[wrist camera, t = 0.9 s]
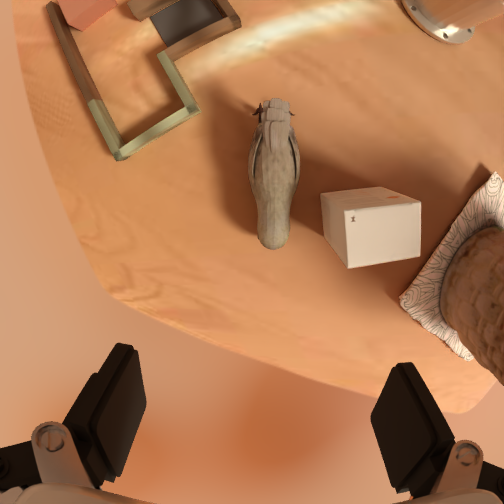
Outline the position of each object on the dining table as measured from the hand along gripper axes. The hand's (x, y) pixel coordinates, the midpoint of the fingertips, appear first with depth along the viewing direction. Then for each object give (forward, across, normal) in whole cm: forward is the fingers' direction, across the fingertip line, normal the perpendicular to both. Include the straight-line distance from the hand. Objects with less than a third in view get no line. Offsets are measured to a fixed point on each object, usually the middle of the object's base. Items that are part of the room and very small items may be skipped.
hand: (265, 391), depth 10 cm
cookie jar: (+28, -36, +5) cm, 46 cm away
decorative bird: (+28, -1, -5) cm, 29 cm away
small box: (+28, -11, -2) cm, 30 cm away
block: (+28, +25, -29) cm, 47 cm away
